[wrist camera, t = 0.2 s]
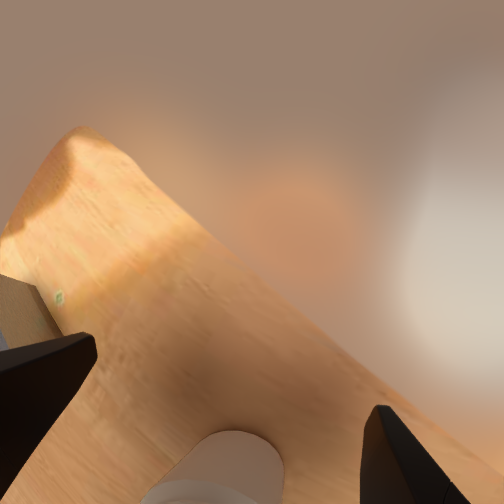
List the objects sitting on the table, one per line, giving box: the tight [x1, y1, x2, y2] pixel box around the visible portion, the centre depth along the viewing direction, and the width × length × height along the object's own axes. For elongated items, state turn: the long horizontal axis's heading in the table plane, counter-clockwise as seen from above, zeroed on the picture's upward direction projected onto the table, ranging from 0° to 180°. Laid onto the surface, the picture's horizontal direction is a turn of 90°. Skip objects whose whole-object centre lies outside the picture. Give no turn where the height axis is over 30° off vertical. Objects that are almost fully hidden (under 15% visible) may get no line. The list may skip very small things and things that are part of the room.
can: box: [140, 431, 284, 504], centre depth 14 cm, size 8×8×12 cm
